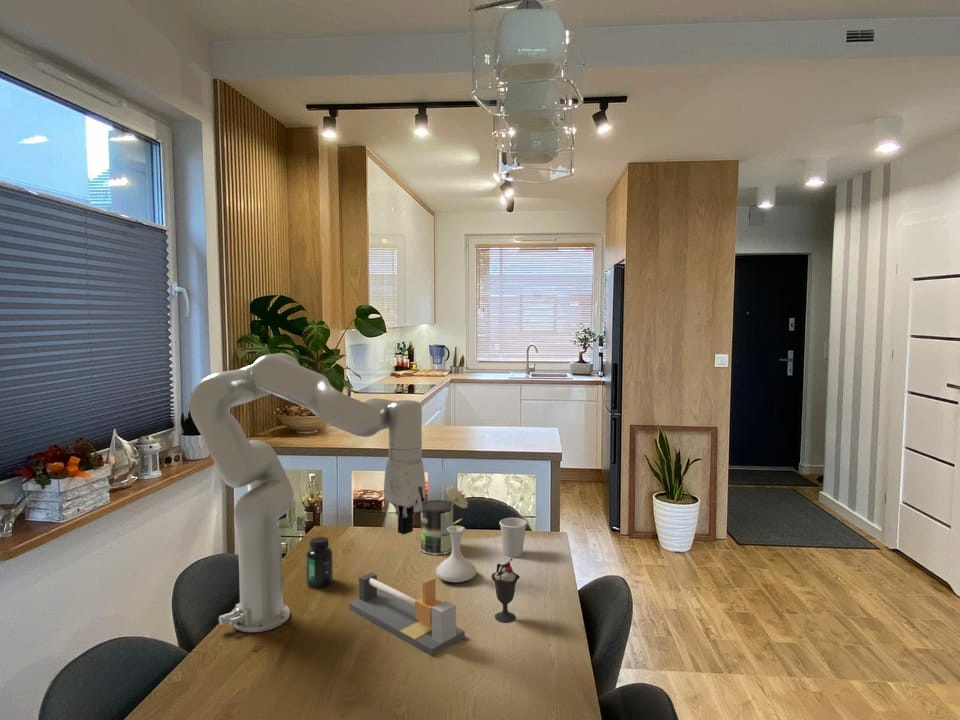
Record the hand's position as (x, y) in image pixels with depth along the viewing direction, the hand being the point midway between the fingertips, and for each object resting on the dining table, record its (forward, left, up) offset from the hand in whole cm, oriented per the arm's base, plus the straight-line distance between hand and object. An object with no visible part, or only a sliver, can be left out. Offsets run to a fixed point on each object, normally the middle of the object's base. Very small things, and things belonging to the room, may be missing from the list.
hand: (405, 532), depth 134 cm
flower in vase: (+26, +10, -22) cm, 36 cm away
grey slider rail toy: (0, +1, -22) cm, 22 cm away
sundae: (+18, -15, -22) cm, 32 cm away
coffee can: (+36, +28, -22) cm, 51 cm away
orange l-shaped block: (0, -8, -18) cm, 20 cm away
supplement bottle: (-2, +34, -22) cm, 40 cm away
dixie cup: (+49, +8, -22) cm, 54 cm away
